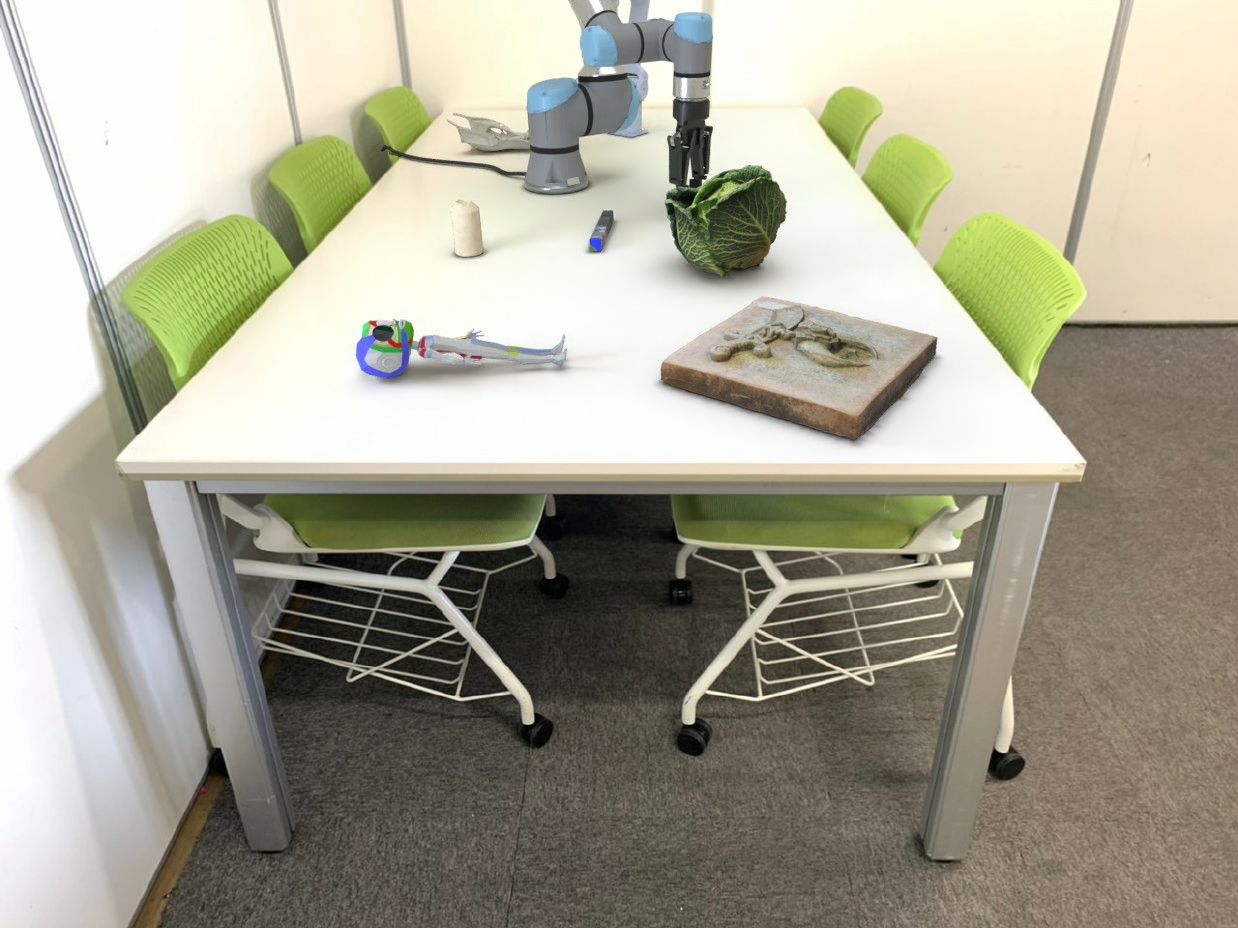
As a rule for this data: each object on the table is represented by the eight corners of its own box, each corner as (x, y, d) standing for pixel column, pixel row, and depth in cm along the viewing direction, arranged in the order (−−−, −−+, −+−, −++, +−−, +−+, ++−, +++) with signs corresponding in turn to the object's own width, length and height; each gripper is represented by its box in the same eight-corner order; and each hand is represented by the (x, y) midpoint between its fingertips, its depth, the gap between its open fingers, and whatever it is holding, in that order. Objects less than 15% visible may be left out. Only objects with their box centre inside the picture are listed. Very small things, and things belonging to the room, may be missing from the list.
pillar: (613, 210, 190) (600, 241, 173) (613, 220, 191) (600, 251, 174) (603, 210, 190) (589, 240, 173) (603, 220, 191) (589, 251, 174)
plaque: (865, 393, 108) (658, 335, 123) (857, 444, 112) (657, 381, 127) (948, 314, 129) (763, 273, 144) (939, 359, 133) (759, 314, 148)
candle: (488, 249, 176) (483, 198, 171) (475, 258, 172) (470, 206, 167) (463, 246, 178) (457, 196, 173) (450, 255, 174) (443, 204, 168)
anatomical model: (457, 110, 251) (543, 108, 247) (461, 144, 256) (546, 143, 252) (440, 121, 238) (531, 120, 235) (445, 157, 243) (534, 156, 240)
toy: (569, 347, 126) (349, 329, 122) (563, 400, 131) (350, 385, 126) (565, 318, 135) (359, 301, 130) (559, 369, 139) (360, 354, 134)
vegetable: (694, 294, 173) (643, 202, 166) (775, 239, 175) (728, 145, 167) (734, 307, 155) (678, 205, 147) (824, 245, 156) (773, 141, 149)
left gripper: (682, 107, 174) (679, 225, 187) (730, 93, 185) (724, 206, 198) (651, 102, 178) (650, 219, 191) (700, 89, 189) (696, 200, 202)
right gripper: (589, 62, 229) (590, 118, 236) (624, 55, 238) (625, 109, 245) (568, 59, 232) (570, 115, 240) (604, 53, 242) (605, 106, 249)
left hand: (688, 212), depth 194 cm, fingers open, 4 cm apart
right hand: (596, 111), depth 243 cm, fingers open, 7 cm apart
